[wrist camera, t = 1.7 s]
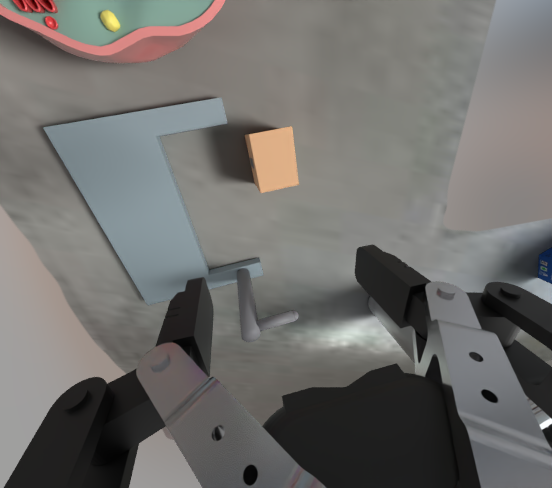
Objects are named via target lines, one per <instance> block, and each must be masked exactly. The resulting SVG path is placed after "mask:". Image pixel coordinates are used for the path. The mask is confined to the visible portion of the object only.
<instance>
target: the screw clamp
mask: <svg viewBox="0 0 552 488" xmlns="http://www.w3.org/2000/svg"><path fill="white" fill-rule="evenodd" d="M225 124H228V123H227V119H226V115H225V110H224V106H223V102H222V98H215V99H209V100H203V101H197V102H191V103H185V104H179V105H173V106H167V107H161V108H156V109H150V110H144V111H138V112H132V113H126V114H120V115H114V116H108V117H102V118H96V119H90V120H84V121H79V122H73V123H67V124H61V125H55V126H49V127H43V129H44V130H45V132H46V134H47V135H48V137H49V139H50V140H51V142H52V144H53V146H54V147H55V149H56V151H57V152H58V154H59V156H60V157H61V159H62V161H63V163H64V164H65V166H66V168H67V169H68V171H69V173H70V174H71V176H72V178H73V180H74V181H75V183H76V185H77V186H78V188H79V190H80V191H81V193H82V195H83V197H84V198H85V200H86V202H87V203H88V205H89V207H90V208H91V210H92V212H93V214H94V215H95V217H96V219H97V220H98V222H99V224H100V225H101V227H102V229H103V231H104V232H105V234H106V236H107V237H108V239H109V241H110V242H111V244H112V246H113V248H114V249H115V251H116V253H117V254H118V256H119V258H120V259H121V261H122V263H123V264H124V266H125V268H126V270H127V271H128V273H129V275H130V276H131V278H132V280H133V281H134V283H135V285H136V287H137V288H138V290H139V292H140V293H141V295H142V297H143V298H144V300H145V302H146V304H147V305H151V304H155V303H159V302H163V301H166V300H170V299H173V297H174V296H175V295H176V294H177V293H178V292H183V291H185V287H186V284H187V281H188V280H190V279H195V278H200V277H204V278H205V280H206V283H207V286H208V290H209V289H213V288H216V287H220V286H224V285H228V284H232V283H236V282H237V284H238V297H239V310H240V323H241V335H242V339H243V340H244V341H246V342H253V341H255V340H257V339H258V338H259V337H260V331H262V330H266V329H269V328H273V327H276V326H280V325H283V324H287V323H290V322H294V321H296V320H297V319H298V317H299V315H298V313H297V312H296V311H295V310H292V311H288V312H284V313H281V314H277V315H274V316H270V317H267V318H263V319H260V320H258V318H257V312H256V306H255V300H254V295H253V289H252V283H251V278H255V277H259V276H263V271H262V267H261V262H260V259H259V258H255V259H251V260H247V261H243V262H239V263H235V264H231V265H227V266H223V267H219V268H215V269H211V270H209V268H208V265H207V262H206V260H205V257H204V254H203V252H202V249H201V246H200V244H199V241H198V238H197V236H196V233H195V230H194V228H193V225H192V222H191V220H190V217H189V214H188V212H187V209H186V206H185V204H184V201H183V198H182V196H181V193H180V190H179V188H178V185H177V182H176V180H175V177H174V174H173V172H172V169H171V166H170V164H169V161H168V158H167V156H166V153H165V150H164V148H163V145H162V142H161V139H160V137H159V136H165V135H170V134H175V133H181V132H186V131H192V130H197V129H203V128H208V127H214V126H219V125H225Z"/></svg>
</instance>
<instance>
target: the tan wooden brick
mask: <svg viewBox="0 0 552 488" xmlns="http://www.w3.org/2000/svg"><path fill="white" fill-rule="evenodd" d="M245 139H246V144H247V149H248V154H249V158H250V163H251V168H252V173H253V177H254V182H255V185H256V186H257V188H258V189H259V191H260V193H264V192H268V191H273V190H277V189H282V188H286V187H291V186H296V185H299V182H298V173H297V165H296V156H295V147H294V139H293V130H292V126H291V127H285V128H279V129H274V130H269V131H264V132H258V133H253V134H248V135H245Z"/></svg>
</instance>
